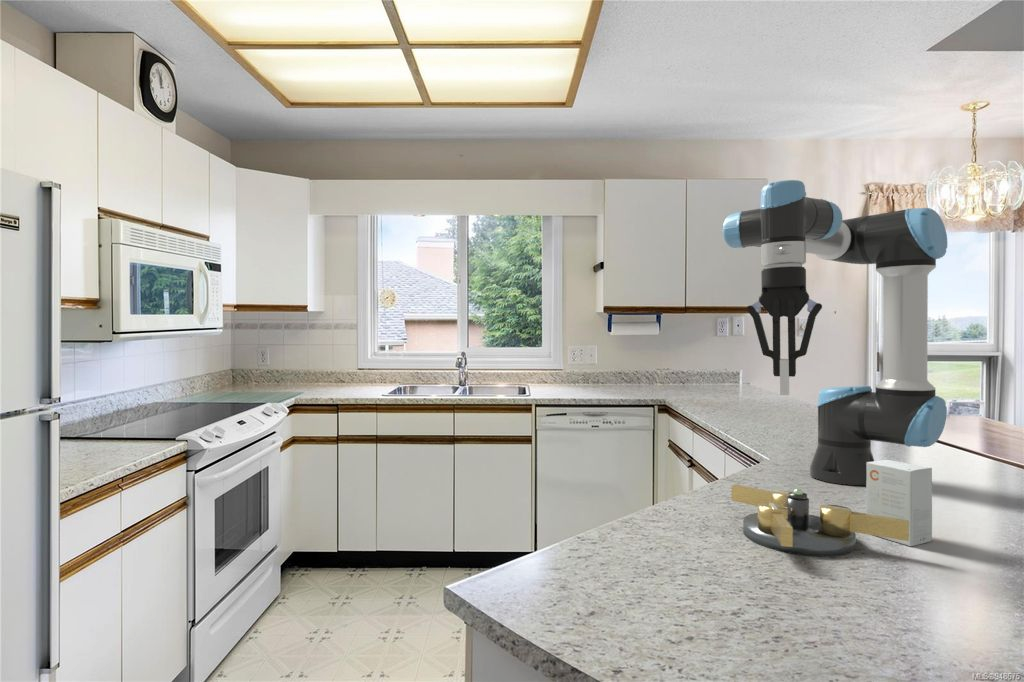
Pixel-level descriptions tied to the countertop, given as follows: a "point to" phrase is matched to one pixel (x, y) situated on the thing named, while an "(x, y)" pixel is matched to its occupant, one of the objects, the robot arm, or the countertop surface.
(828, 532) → the knob
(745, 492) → the knob
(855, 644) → the countertop surface
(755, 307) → the robot arm
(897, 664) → the countertop surface
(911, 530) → the small box
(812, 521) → the tribrach plate
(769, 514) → the knob
